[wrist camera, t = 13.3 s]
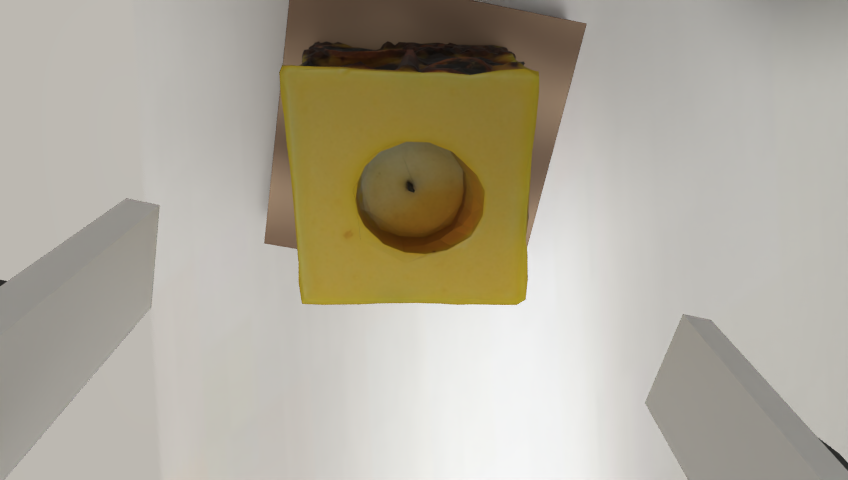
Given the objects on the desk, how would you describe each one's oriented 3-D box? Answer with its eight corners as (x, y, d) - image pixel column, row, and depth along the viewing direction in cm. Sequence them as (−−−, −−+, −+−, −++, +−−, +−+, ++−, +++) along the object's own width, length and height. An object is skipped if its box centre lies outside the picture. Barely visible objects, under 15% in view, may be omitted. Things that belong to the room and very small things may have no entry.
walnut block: (308, -32, 35) (293, -36, 31) (564, 20, 37) (586, 23, 32) (281, 214, 41) (264, 243, 36) (505, 253, 42) (516, 285, 37)
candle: (311, 40, 32) (269, 57, 23) (508, 41, 32) (546, 58, 23) (322, 227, 36) (289, 308, 26) (498, 227, 36) (527, 307, 27)
